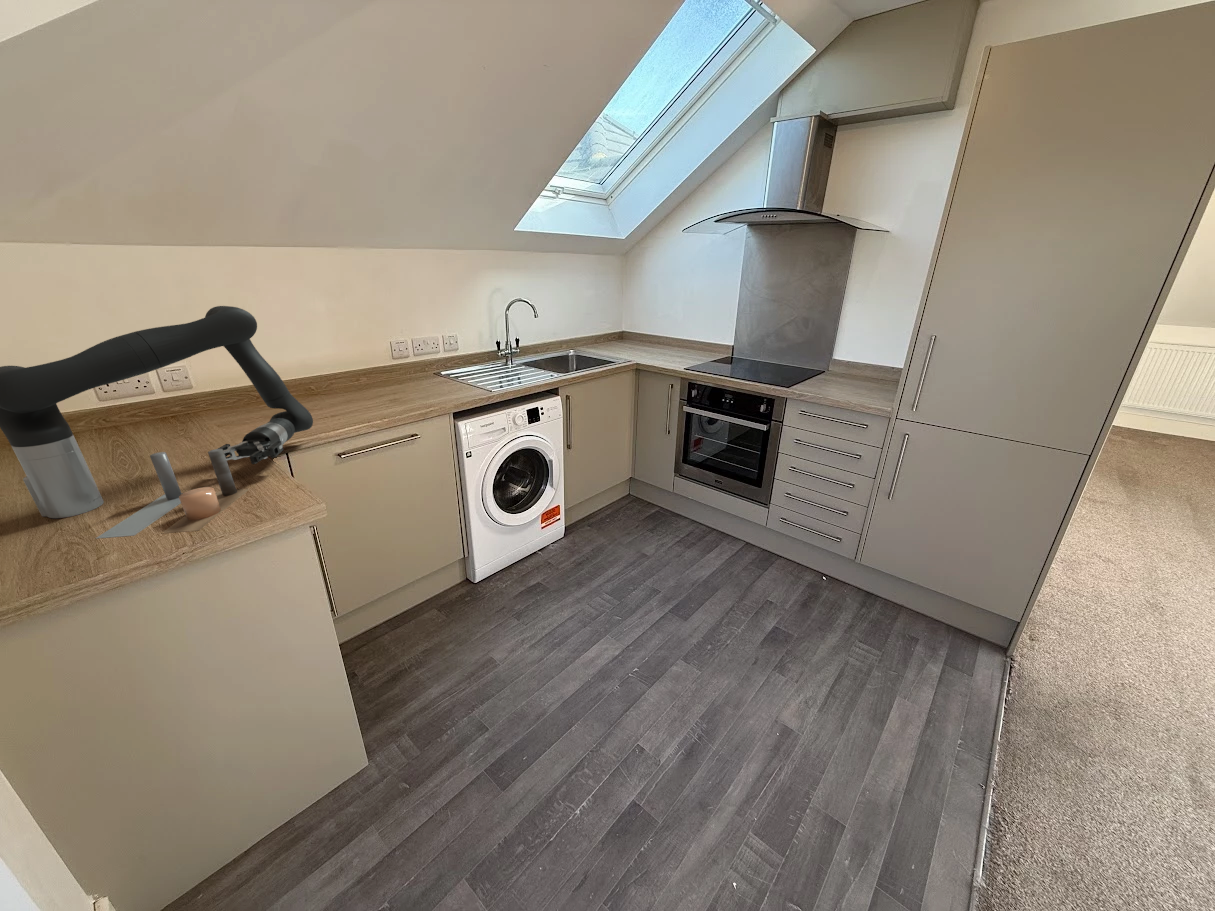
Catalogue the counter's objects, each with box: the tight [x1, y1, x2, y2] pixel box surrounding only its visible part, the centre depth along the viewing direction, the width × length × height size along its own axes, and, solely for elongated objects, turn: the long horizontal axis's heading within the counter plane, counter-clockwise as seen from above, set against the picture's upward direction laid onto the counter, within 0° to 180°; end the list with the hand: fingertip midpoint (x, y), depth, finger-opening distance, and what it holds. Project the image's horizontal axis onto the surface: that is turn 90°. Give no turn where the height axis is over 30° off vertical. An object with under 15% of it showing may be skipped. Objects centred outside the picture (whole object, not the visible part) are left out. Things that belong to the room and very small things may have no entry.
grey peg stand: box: [95, 451, 184, 540], centre depth 104 cm, size 7×20×12 cm, turn 9°
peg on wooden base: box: [161, 448, 250, 534], centre depth 106 cm, size 7×20×12 cm, turn 9°
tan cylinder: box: [179, 486, 221, 520], centre depth 105 cm, size 6×6×5 cm
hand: (233, 461), depth 117 cm, fingers open, 8 cm apart
